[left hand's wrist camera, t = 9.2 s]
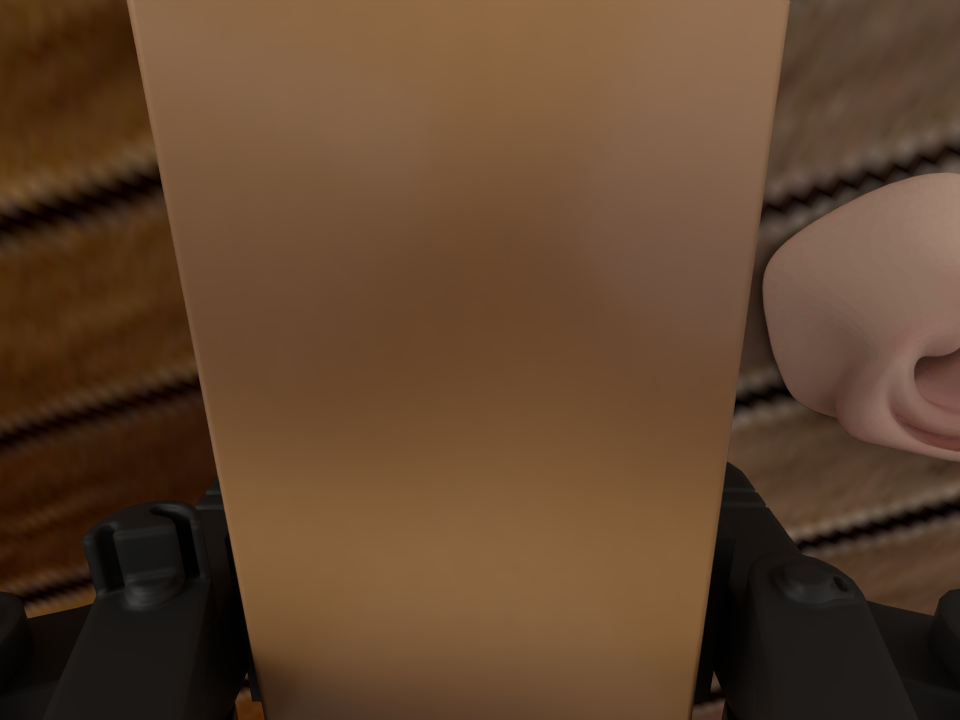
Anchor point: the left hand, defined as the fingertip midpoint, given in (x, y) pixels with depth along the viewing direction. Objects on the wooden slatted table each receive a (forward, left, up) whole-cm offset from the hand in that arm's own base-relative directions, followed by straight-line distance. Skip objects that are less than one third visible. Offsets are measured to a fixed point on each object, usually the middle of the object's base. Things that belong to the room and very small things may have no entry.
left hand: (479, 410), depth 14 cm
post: (+6, +19, -1) cm, 20 cm away
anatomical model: (-17, +7, -12) cm, 22 cm away
